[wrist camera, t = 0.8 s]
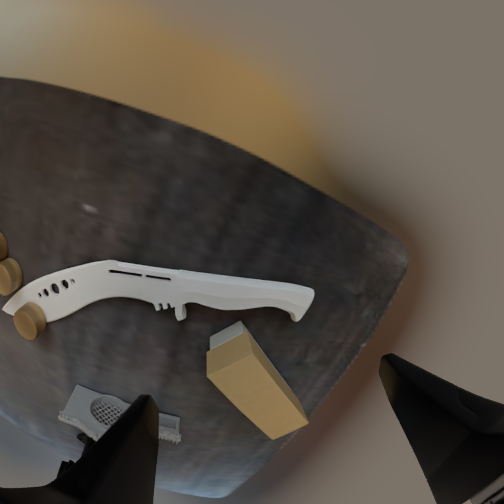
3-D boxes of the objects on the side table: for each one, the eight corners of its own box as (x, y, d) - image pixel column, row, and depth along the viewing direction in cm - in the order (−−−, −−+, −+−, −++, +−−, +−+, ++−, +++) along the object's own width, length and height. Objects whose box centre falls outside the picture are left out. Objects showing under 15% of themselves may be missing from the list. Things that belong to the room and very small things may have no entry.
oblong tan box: (262, 404, 24) (272, 440, 19) (206, 338, 21) (206, 376, 17) (294, 388, 24) (309, 423, 19) (243, 317, 21) (252, 353, 17)
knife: (-2, 315, 17) (-14, 240, 15) (6, 308, 19) (-4, 236, 17) (295, 371, 21) (319, 289, 19) (291, 360, 23) (312, 281, 21)
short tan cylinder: (13, 293, 18) (2, 301, 16) (-1, 267, 17) (-13, 273, 15) (27, 278, 18) (15, 286, 16) (12, 251, 17) (-1, 257, 15)
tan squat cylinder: (38, 335, 19) (28, 345, 17) (19, 310, 18) (9, 319, 16) (51, 321, 19) (41, 332, 17) (32, 295, 18) (20, 304, 16)
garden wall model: (182, 415, 23) (180, 459, 18) (179, 425, 24) (177, 467, 18) (74, 380, 21) (54, 418, 15) (75, 391, 21) (57, 428, 15)
